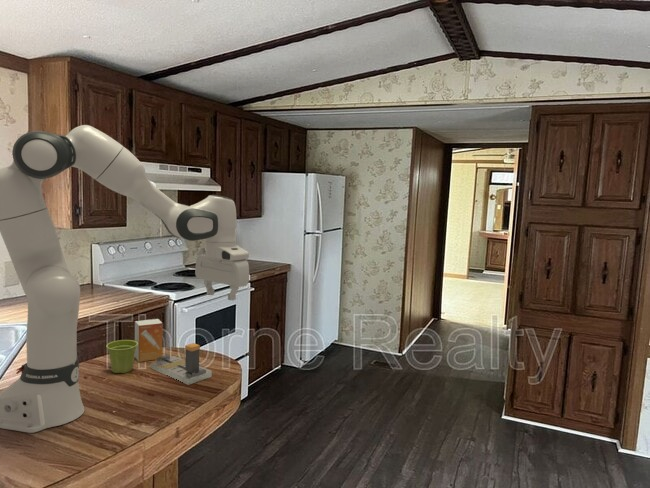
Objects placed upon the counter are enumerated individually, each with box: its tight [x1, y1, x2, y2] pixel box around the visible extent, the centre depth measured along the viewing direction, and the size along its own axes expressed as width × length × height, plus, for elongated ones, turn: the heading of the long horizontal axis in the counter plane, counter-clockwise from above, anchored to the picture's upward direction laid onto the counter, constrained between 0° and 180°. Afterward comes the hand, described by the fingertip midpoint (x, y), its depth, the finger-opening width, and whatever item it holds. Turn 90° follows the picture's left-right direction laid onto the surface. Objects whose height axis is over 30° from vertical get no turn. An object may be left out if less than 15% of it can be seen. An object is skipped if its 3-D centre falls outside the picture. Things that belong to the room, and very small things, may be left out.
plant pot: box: [106, 339, 138, 374], centre depth 154 cm, size 9×9×9 cm
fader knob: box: [184, 342, 201, 373], centre depth 150 cm, size 3×3×8 cm
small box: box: [134, 318, 164, 363], centre depth 165 cm, size 8×6×13 cm
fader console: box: [150, 354, 213, 386], centre depth 154 cm, size 21×9×3 cm, turn 53°
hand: (220, 297), depth 140 cm, fingers open, 8 cm apart
